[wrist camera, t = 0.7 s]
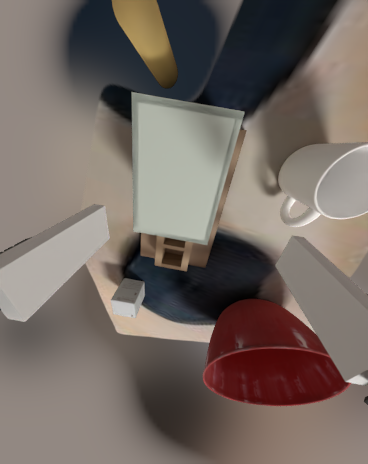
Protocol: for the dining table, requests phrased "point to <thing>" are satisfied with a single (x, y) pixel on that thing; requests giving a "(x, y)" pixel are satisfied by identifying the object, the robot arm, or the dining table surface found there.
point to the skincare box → (128, 298)
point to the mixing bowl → (268, 358)
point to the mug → (325, 181)
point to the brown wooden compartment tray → (185, 252)
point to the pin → (148, 37)
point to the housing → (179, 165)
